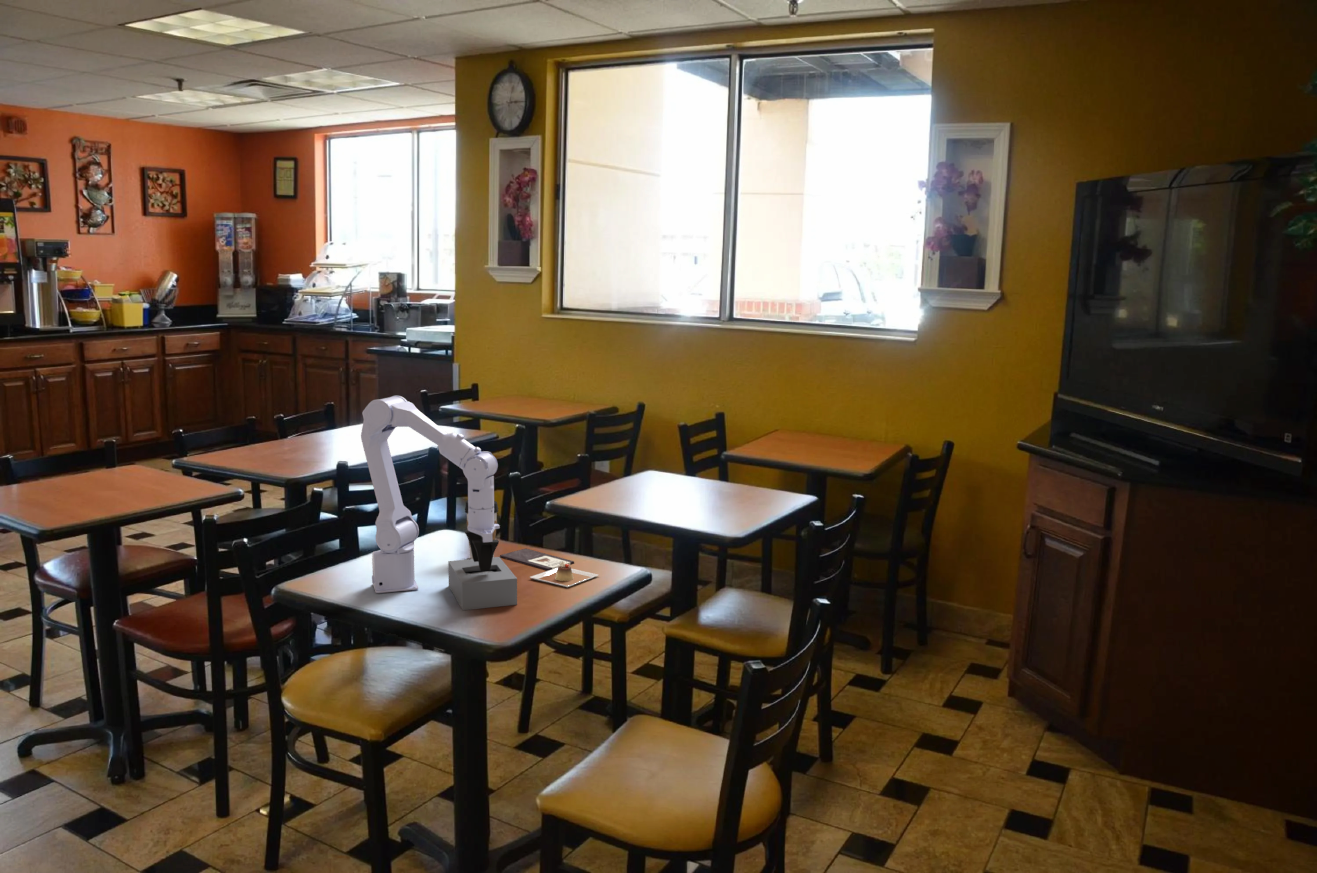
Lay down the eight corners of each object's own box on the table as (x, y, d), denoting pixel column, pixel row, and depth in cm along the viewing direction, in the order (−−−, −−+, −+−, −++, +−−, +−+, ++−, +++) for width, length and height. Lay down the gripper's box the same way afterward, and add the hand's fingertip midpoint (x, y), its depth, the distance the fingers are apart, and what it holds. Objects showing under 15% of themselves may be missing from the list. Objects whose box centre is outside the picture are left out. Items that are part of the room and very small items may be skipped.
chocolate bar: (525, 548, 261) (574, 561, 249) (525, 551, 261) (574, 564, 250) (499, 555, 254) (548, 568, 243) (500, 558, 254) (548, 572, 243)
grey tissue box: (462, 610, 212) (462, 583, 211) (448, 586, 229) (448, 561, 228) (517, 604, 217) (517, 578, 216) (499, 581, 233) (499, 556, 232)
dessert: (599, 579, 239) (599, 560, 238) (567, 591, 229) (568, 571, 228) (561, 570, 245) (561, 551, 244) (528, 581, 235) (529, 562, 235)
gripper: (505, 512, 214) (506, 572, 217) (492, 498, 228) (492, 555, 230) (473, 514, 212) (474, 575, 214) (461, 500, 225) (462, 558, 227)
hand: (481, 565), depth 222 cm, fingers open, 7 cm apart
